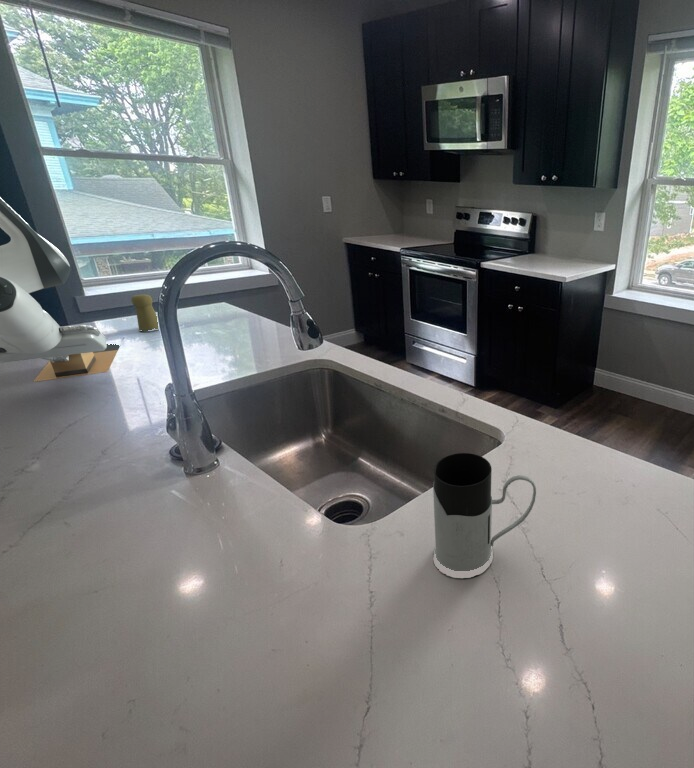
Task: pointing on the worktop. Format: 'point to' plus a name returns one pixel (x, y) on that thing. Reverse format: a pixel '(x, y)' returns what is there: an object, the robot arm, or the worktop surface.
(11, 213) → the robot arm
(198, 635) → the worktop surface
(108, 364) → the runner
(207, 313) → the worktop surface
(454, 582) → the worktop surface
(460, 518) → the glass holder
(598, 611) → the worktop surface
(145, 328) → the pepper shaker
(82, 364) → the eraser block
